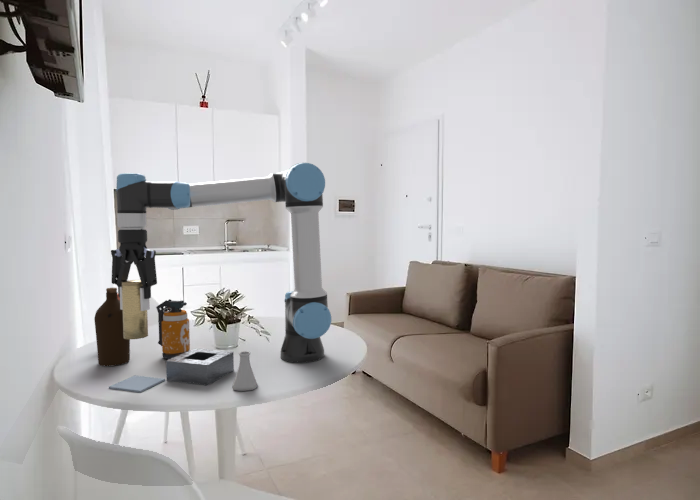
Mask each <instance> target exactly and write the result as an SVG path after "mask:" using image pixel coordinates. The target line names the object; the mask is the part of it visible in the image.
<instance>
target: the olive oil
mask: <svg viewBox="0 0 700 500" xmlns="http://www.w3.org/2000/svg"><path fill="white" fill-rule="evenodd" d="M105 291H106V293H105V301H104V302H103V303H102V304H101V305H100V306H99V307H98V308H97V309H96V311H95V315H94V319H93V320H94V329H95V339H96V351H97V363H98V365H99V366H101V367H117V366H121V365H125V364H126V363H129V362H130V360H131V359H130V358H131V355H130V354H131V352H130V351H131V350H130V349H131V348H130V346H131V345H130V344H131V339H124V338H123V310H121V309H120V301H119V300H118V298H117V297H118V294H117V293H118V287H107V288H106V289H105Z"/></svg>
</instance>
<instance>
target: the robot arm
mask: <svg viewBox="0 0 700 500" xmlns="http://www.w3.org/2000/svg"><path fill="white" fill-rule="evenodd" d="M115 186H116V188H115V192H116V193H115V194H116V213H117V220H116V221H117V223H116V224H117V228H119V229H118V230H117V242H118V243H119V248H117V249H111V250H110V254H111V257H112V258H111V284H112V285H116V286H117V293H118V296H119V297H120V309H121V310H123V309H122V281H128V280H129V279H128V278H129V274H130V271H131V266H132V265H133V264H134V265H135V266H136V267H135V268H136V270H137V273H138V276H139V280H141V283H142V286H141V288H140V307H141V311H145V310H147V311H149V310H150V299H151V298H152V287H153V286H156V285H157V284H158V277H157V265H156V254H157V252H156V250H155V249H149V248H148V247H147V245H146V244H147V242H148V230H147V229H145V228H147V226H148V225H147V222H148V219H147V208H149V209H152V208H154V209H155V208H157V209H158V208H159V209H169V210H173V211H175V210H177V211H178V210H180V209H188V208H197V207H207V206H209V207H210V206H217V205H228V204H239V203H250V202H259V201H272V202H273V203H280V202H283V203H284V202H285V209H286V210H287V211H288V212H289V213H290V220H291V221H290V222H291V240H292V241H291V243H292V245H291V246H292V259H293V276H294V277H293V278H294V280H293V281H294V290H291V291H287V292H286V293H285V294H284V295H285V296H284V300H283V301H284V312H285V313H284V328H285V329H284V330H285V332H284V335H285V336H284V339H283V341H282V344H281V348H280V359H281V360H283V361H285V362H289V363H300V364H301V363H311V362H316V360H317V361H319V359H320V360H322V359H324V357H325V348H324V345H323V341H322V339H321V337H322V336H323V335H326V333H327V332H328V331H329V330H330V327H331V325H332V314H331V311H330V309H329V308H328V307H329V306H328V293H327V291H326V290H324V288H323V286H322V285H323V281H322V280H323V279H322V262H321V242H320V241H321V240H320V221H319V218H320V217H319V213H320V211H321V210H322V209H323V208H324V201H323V200H324V199H323V198H324V197H323V196H324V195H323V193H324V191H325V188H326V178H325V175H324V173H323V172H322V170H321V169H320V168H319V167H318V166H316V165H315V164H313V163H310V162H299V163H296V164H294V165H292V166H291V167H290V168H289V169H287V170H283V171H281V172H280V171H279V172H273V173H270V174H268V176H263V177H262V176H261V177H251V178H240V179H227V180H217V181H205V182H195V183H188V182H184V181H152V180H151V181H149V180H147V179H146V176H145V174H142V173H132V172H123V173H119V174H118V175H117V176H116V185H115Z"/></svg>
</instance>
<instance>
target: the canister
mask: <svg viewBox="0 0 700 500" xmlns="http://www.w3.org/2000/svg"><path fill="white" fill-rule="evenodd" d="M185 306H187V302H184V300H172V299H171V298H170V299H168V300H167V299H166V300H164V301H162V302H161V303H160V304H159V305H157V306H155V308H156V311H157V313H158V314H157V315H158V317H157V320H158V342H157V344H158V345H160V347H161V351H162V353H161V354H162V358H164V359H167V360H169V359H171V358H174V357H176V356H178V355H181V354H183V353H185V352H188V351H190V350H191V344H190V342H191V339H190V335H191V334H190V333H191V332H190V319H189V318H188V312H187V310H185V309H183V308H184V307H185Z"/></svg>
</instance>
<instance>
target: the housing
mask: <svg viewBox="0 0 700 500" xmlns="http://www.w3.org/2000/svg"><path fill="white" fill-rule="evenodd" d="M234 362H235V361H234V351H231V350H221V349H219V350H218V349H207V348H197V347H196V348H192V349H190V351H188V352H185V353H183V354H181V355H178V356H176V357H174V358H171V359H167V360H166V361H165V368H166V369H165V371H166V381H167V382H175V383H183V384H190V385H191V384H192V385H201V386H209V385H211V384H213V383H214V382H216V381H218V380H220V379H221V378H223V377H224V376H226V375H229V374H230V373H231V372H233V371H234V370H235V367H234V366H235V364H234Z"/></svg>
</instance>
